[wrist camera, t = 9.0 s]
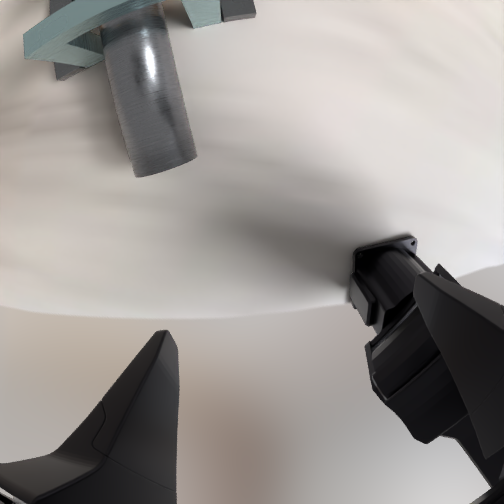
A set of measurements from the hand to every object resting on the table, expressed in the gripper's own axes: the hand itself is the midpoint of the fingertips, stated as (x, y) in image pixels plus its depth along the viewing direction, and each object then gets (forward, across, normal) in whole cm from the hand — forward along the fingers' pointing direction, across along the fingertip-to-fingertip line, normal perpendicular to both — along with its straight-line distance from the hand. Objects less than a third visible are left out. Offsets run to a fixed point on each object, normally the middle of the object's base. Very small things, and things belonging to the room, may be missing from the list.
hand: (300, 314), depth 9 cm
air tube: (+12, +5, -13) cm, 18 cm away
